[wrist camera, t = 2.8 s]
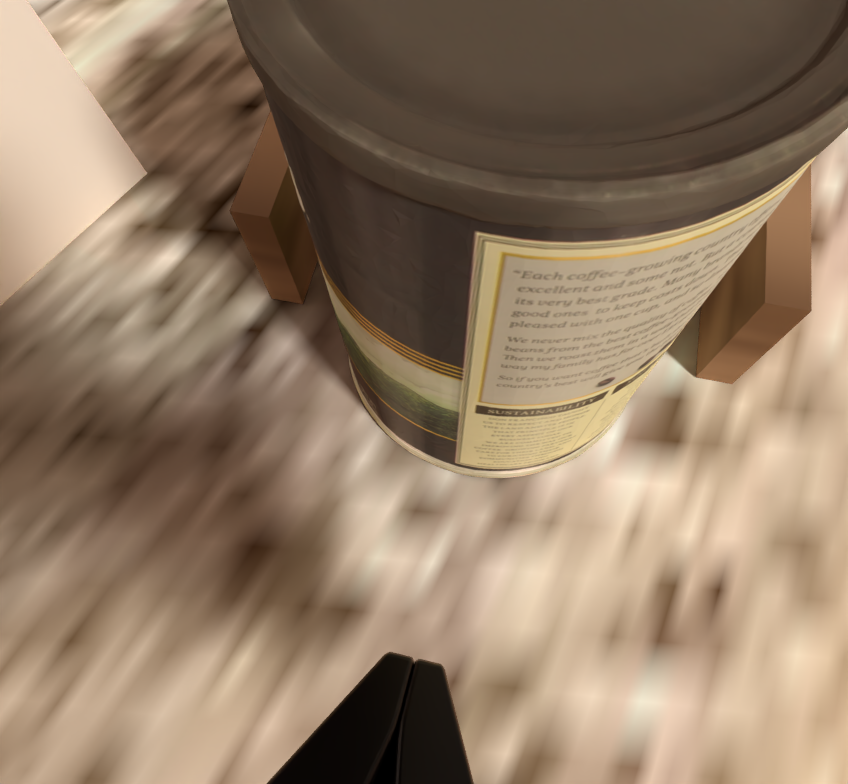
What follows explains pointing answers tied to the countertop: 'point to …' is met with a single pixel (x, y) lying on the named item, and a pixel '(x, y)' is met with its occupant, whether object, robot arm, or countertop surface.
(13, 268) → the milk
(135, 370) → the countertop surface
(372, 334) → the coffee can
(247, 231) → the brown tray
